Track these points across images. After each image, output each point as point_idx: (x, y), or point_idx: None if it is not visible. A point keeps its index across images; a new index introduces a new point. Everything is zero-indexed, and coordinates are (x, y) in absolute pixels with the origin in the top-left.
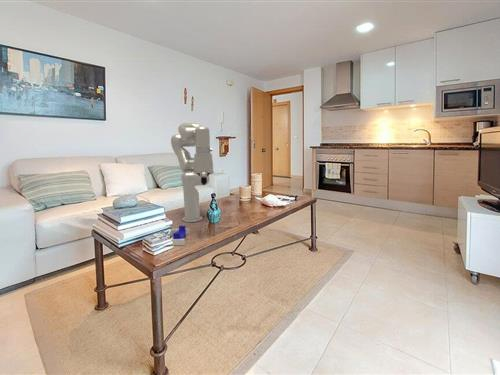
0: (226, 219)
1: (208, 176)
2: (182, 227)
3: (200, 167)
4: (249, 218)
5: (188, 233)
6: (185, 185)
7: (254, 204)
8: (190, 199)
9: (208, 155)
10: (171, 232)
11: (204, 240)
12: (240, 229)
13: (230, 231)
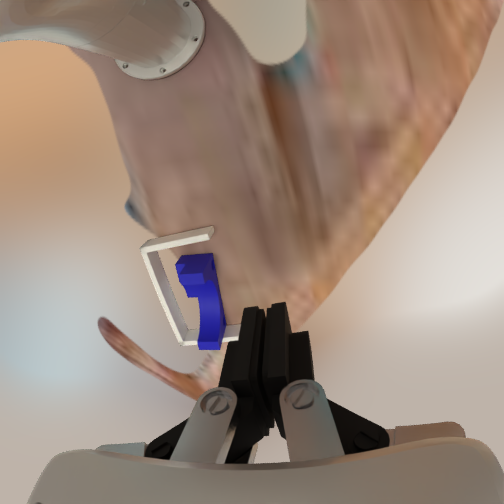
0: (334, 12)
1: None
2: (196, 282)
3: None
4: (436, 13)
5: (213, 232)
6: (8, 40)
7: None
8: (104, 42)
9: None
10: (152, 253)
11: (298, 289)
12: (424, 162)
13: (387, 188)
